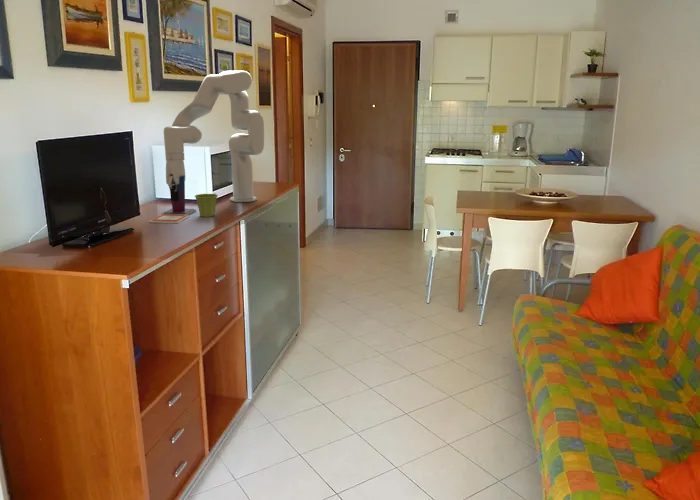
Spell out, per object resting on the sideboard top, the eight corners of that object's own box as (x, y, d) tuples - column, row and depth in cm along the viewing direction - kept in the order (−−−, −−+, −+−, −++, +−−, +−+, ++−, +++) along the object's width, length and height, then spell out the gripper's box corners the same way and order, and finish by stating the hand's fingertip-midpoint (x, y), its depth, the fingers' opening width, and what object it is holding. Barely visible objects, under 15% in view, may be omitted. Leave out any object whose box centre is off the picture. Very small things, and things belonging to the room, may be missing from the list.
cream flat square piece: (161, 216, 237) (161, 213, 236) (189, 217, 235) (189, 214, 235) (149, 222, 225) (148, 219, 225) (178, 223, 224) (177, 220, 224)
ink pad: (172, 210, 248) (171, 207, 247) (196, 211, 247) (196, 208, 246) (161, 215, 237) (161, 212, 237) (186, 216, 236) (186, 213, 236)
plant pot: (196, 213, 242) (194, 193, 239) (218, 213, 244) (217, 193, 242) (195, 218, 233) (194, 197, 231) (219, 217, 235) (218, 196, 233)
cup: (189, 209, 244) (187, 174, 240) (183, 212, 238) (180, 176, 234) (174, 208, 245) (171, 174, 241) (167, 211, 239) (165, 176, 235)
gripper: (174, 154, 244) (177, 195, 249) (157, 158, 228) (161, 202, 232) (191, 154, 243) (194, 196, 248) (175, 159, 227) (178, 203, 232)
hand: (178, 198), depth 240 cm, fingers closed on cup, 6 cm apart
